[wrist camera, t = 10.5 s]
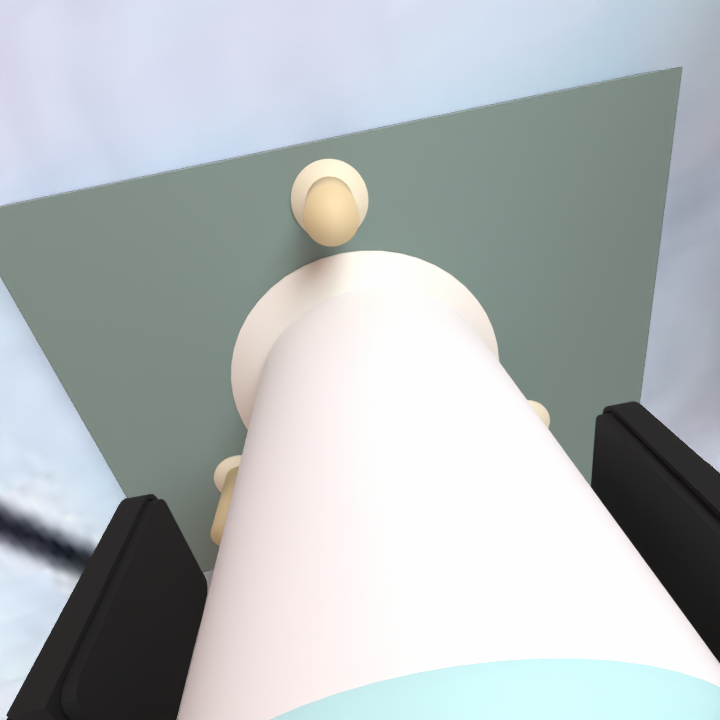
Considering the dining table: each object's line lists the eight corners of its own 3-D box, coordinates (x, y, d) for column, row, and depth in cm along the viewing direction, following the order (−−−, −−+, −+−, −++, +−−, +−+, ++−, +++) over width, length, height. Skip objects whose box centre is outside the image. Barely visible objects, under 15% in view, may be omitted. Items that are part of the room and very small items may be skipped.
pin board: (607, 465, 19) (672, 545, 15) (183, 546, 19) (151, 641, 16) (643, 73, 12) (772, 52, 9) (2, 205, 13) (-122, 236, 9)
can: (241, 450, 15) (52, 1215, 5) (294, 247, 12) (100, 1089, 2) (435, 489, 17) (634, 1140, 6) (524, 316, 14) (1229, 1003, 3)
